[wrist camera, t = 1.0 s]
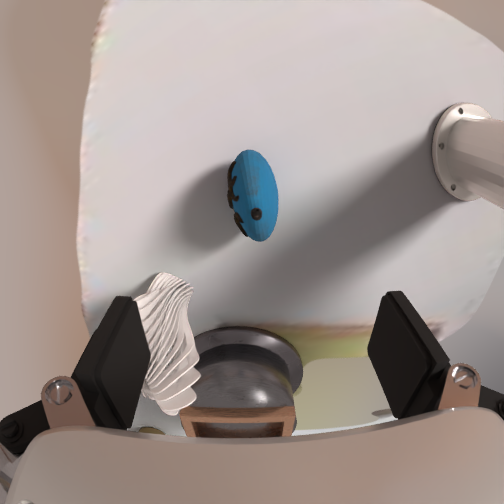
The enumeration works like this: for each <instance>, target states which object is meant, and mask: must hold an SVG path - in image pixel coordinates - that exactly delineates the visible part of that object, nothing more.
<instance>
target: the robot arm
mask: <svg viewBox="0 0 504 504" xmlns="http://www.w3.org/2000/svg"><path fill="white" fill-rule="evenodd" d="M432 158H433V164H434V168H435V172H436V175H437V177H438V179H439V181H440V183H441V185H442V186H443V187H444V189H445V190H446V191H447V192H448V193H450V194H451V195H453V196H454V197H456V198H458V199H461V200H464V201H472V200H476V199H478V198H481V197H482V198H484V199H486V200H488V201H490V202H492V203H493V204H495V205H497V206H499V207H501V208H502V209H504V121H501V120H496V119H493V118H492V117H491V116H490V114H489V113H488V112H487V111H486V110H485V109H483V108H482V107H480V106H478V105H476V104H472V103H458V104H455V105H453V106H451V107H450V108H449V109H447V110H446V111H445V112H444V114H443V115H442V116H441V118H440V119H439V122H438V124H437V126H436V129H435V132H434V136H433V144H432ZM367 350H368V355H369V358H370V360H371V362H372V365H373V367H374V369H375V371H376V374H377V376H378V379H379V381H380V383H381V386H382V388H383V391H384V393H385V395H386V398H387V401H388V403H389V406H390V408H391V411H392V413H393V416H394V417H395V418H398V420H394V421H390V422H385V423H380V424H376V425H370V426H365V427H360V428H354V429H348V430H341V431H334V432H326V433H318V434H309V435H299V436H286V437H269V438H201V437H184V436H171V435H161V434H151V433H142V432H134V431H127V428H131V426H132V422H133V419H134V415H135V411H136V408H137V404H138V400H139V397H140V393H141V390H142V386H143V383H144V379H145V376H146V373H147V369H148V366H149V363H150V358H151V354H150V349H149V346H148V342H147V339H146V335H145V332H144V328H143V325H142V321H141V317H140V313H139V309H138V305H137V302H136V301H134V300H132V298H131V297H128V296H116V297H115V299H114V300H113V302H112V304H111V306H110V307H109V309H108V311H107V312H106V314H105V316H104V318H103V320H102V321H101V323H100V325H99V327H98V329H96V330H95V332H94V333H93V335H92V337H91V339H90V341H89V343H88V345H87V346H86V348H85V350H84V352H83V354H82V356H81V358H80V360H79V362H78V364H77V366H76V368H75V370H74V372H73V374H72V376H71V378H70V377H66V376H59V377H55V378H53V379H51V380H50V381H48V382H47V383H46V384H45V386H44V387H43V389H42V392H41V399H42V400H40V401H38V402H36V403H34V404H32V405H30V406H28V407H25V408H23V409H21V410H19V411H17V412H15V413H13V414H10V415H8V416H6V417H5V418H3V420H1V422H0V504H504V394H501V393H499V392H496V391H494V390H491V389H488V388H486V387H484V386H482V385H481V378H480V375H479V373H478V372H477V371H476V369H474V368H473V367H472V366H470V365H468V364H464V363H457V364H454V365H452V366H451V365H450V364H449V361H450V359H449V358H448V356H447V355H446V353H445V352H444V350H443V349H442V347H441V346H440V344H439V343H438V341H437V340H436V338H435V337H434V335H433V334H432V332H431V331H430V329H429V328H428V327H427V325H426V324H425V322H424V321H423V319H422V318H421V317H420V315H419V314H418V312H417V311H416V310H415V308H414V307H413V306H412V304H411V303H410V301H409V300H408V299H407V297H406V296H405V295H404V293H403V292H402V291H390V292H387V293H386V295H385V296H383V297H382V299H381V303H380V306H379V310H378V314H377V317H376V321H375V324H374V328H373V331H372V334H371V338H370V341H369V344H368V349H367Z"/></svg>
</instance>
